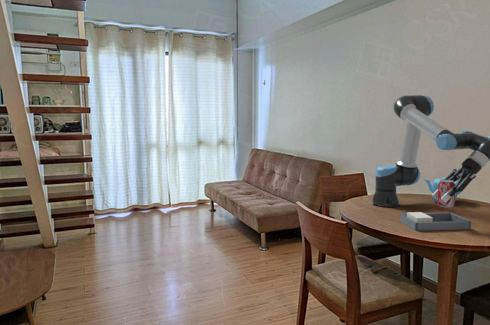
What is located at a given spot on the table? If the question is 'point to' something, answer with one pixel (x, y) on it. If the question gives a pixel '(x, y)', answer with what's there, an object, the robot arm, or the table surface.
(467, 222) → the tote
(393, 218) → the table surface
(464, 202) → the table surface
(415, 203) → the table surface
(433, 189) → the teakettle
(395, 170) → the robot arm
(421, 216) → the cream rectangular box
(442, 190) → the soda can
